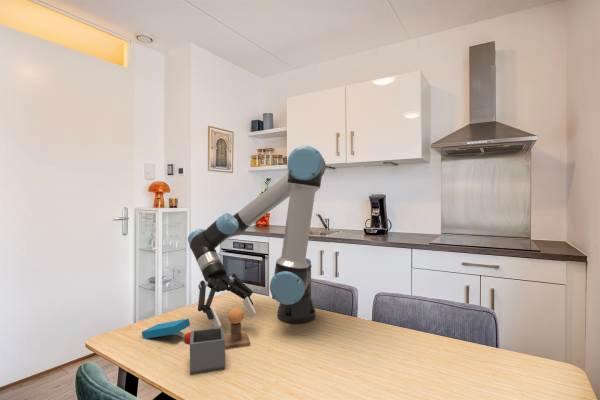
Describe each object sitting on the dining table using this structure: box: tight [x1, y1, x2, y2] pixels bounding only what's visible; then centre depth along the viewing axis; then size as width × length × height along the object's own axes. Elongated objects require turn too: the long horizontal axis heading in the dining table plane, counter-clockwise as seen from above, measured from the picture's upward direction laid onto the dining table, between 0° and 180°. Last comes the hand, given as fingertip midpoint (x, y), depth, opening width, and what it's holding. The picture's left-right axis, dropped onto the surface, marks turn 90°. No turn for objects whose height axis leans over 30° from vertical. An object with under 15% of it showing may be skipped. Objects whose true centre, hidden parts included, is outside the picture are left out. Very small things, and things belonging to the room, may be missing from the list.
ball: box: [227, 307, 245, 324], centre depth 100 cm, size 5×5×5 cm
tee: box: [224, 321, 251, 350], centre depth 100 cm, size 8×8×6 cm
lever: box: [141, 318, 191, 344], centre depth 103 cm, size 7×7×18 cm
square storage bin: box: [189, 326, 226, 376], centre depth 87 cm, size 9×9×8 cm
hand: (237, 321), depth 99 cm, fingers open, 13 cm apart
